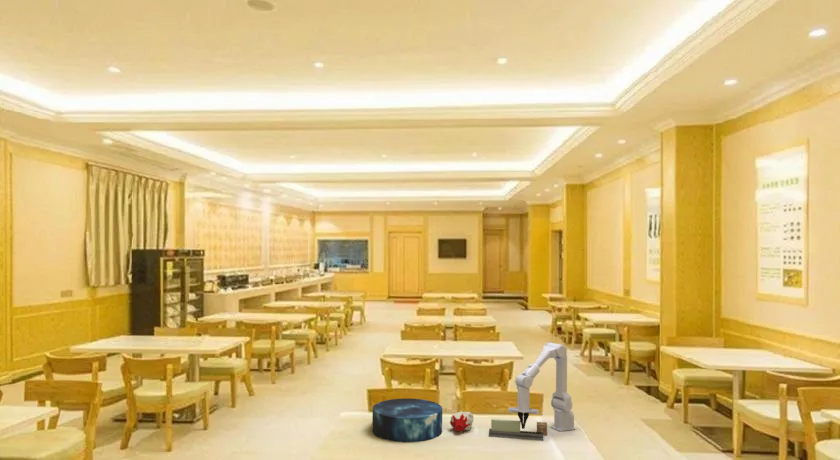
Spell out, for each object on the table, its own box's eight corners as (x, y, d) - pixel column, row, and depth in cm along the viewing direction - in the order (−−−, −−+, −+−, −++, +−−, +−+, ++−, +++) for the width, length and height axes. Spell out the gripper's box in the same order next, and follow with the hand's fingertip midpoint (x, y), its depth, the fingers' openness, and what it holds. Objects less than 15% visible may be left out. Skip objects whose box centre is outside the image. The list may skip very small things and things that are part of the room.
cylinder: (361, 426, 294) (361, 403, 294) (420, 417, 311) (420, 395, 312) (391, 447, 264) (392, 422, 264) (455, 436, 281) (455, 412, 281)
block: (536, 431, 288) (536, 421, 288) (546, 432, 287) (546, 422, 287) (536, 435, 283) (536, 424, 283) (547, 435, 282) (547, 425, 282)
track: (542, 435, 281) (542, 431, 281) (543, 440, 274) (543, 435, 274) (489, 431, 286) (489, 427, 286) (488, 436, 280) (488, 431, 280)
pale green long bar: (520, 433, 281) (520, 420, 281) (520, 434, 279) (520, 422, 279) (491, 431, 284) (491, 418, 284) (491, 432, 282) (491, 419, 282)
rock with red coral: (473, 425, 294) (470, 439, 280) (452, 424, 296) (447, 436, 282) (473, 408, 293) (470, 421, 279) (452, 407, 296) (447, 419, 281)
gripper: (508, 401, 277) (507, 429, 277) (538, 403, 274) (538, 431, 274) (508, 397, 284) (508, 425, 283) (538, 399, 281) (538, 427, 281)
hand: (523, 428), depth 279 cm, fingers closed
